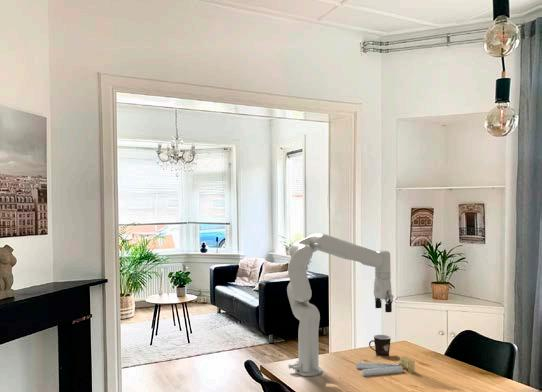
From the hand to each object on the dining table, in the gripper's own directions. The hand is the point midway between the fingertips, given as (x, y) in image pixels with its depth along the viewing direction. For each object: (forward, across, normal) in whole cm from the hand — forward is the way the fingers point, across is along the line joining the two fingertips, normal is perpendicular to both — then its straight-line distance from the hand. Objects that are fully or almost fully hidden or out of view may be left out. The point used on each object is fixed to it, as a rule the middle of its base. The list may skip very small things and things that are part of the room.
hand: (383, 310), depth 210 cm
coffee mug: (+27, -12, +4) cm, 29 cm away
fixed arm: (+25, +14, -9) cm, 30 cm away
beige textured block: (+25, +13, +4) cm, 29 cm away
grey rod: (+25, +9, -8) cm, 28 cm away
